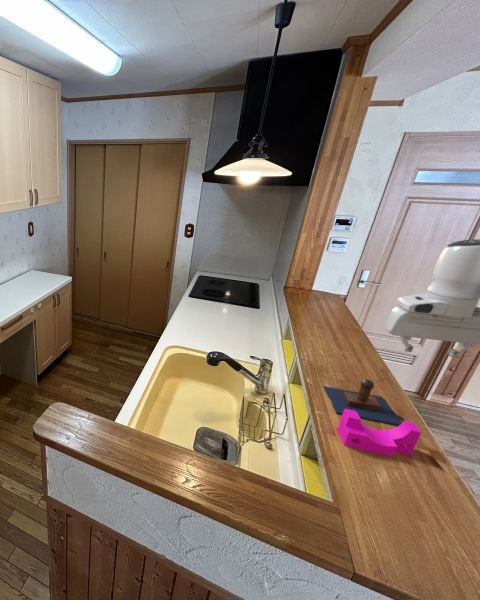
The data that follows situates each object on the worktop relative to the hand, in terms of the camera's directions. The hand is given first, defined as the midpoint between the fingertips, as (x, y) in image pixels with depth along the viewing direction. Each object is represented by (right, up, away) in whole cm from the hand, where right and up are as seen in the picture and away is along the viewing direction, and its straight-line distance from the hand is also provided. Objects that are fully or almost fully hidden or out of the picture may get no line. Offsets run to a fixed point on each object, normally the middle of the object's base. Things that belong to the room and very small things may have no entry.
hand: (429, 353), depth 85 cm
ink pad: (-3, -19, +17) cm, 26 cm away
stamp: (-4, -19, +17) cm, 26 cm away
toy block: (-13, -25, +2) cm, 29 cm away
